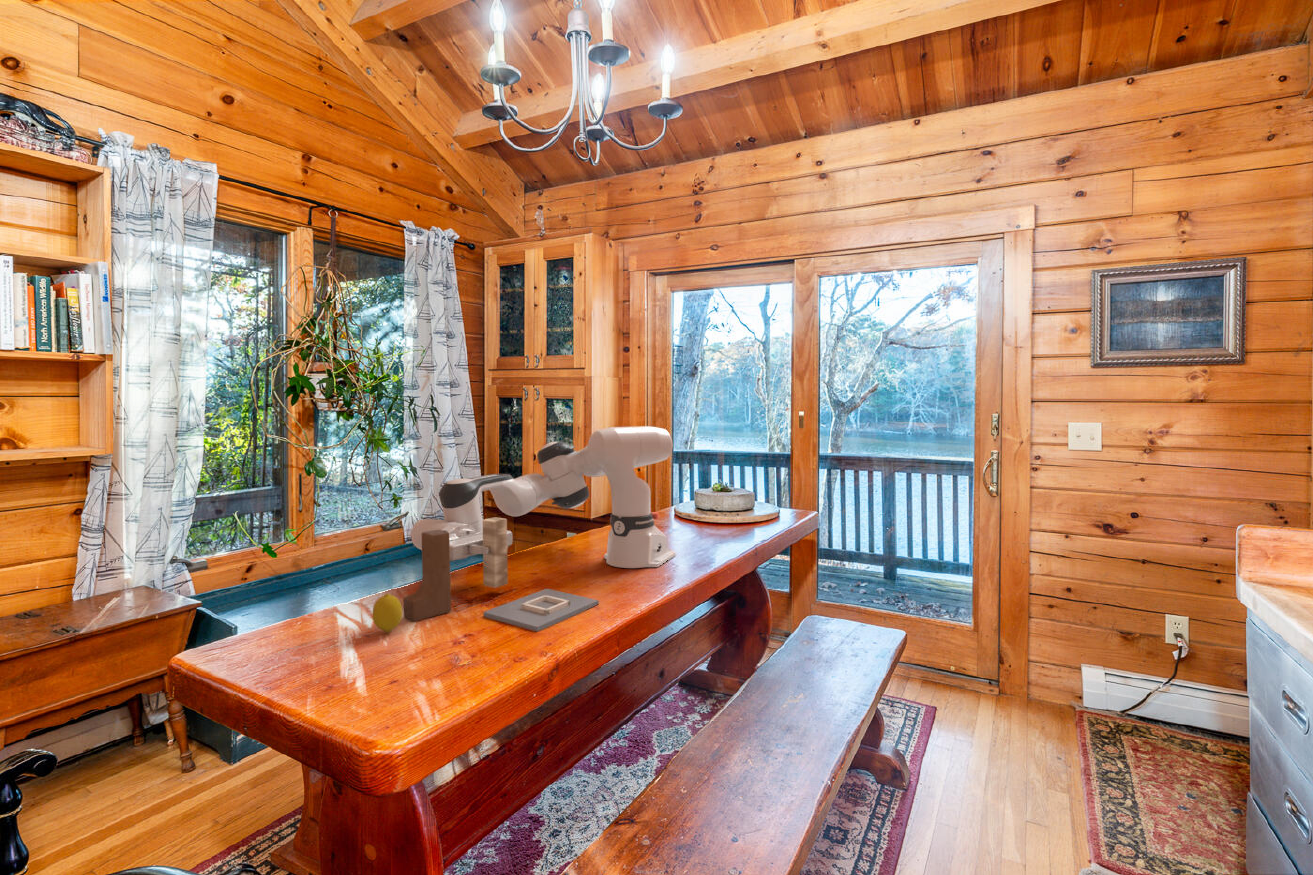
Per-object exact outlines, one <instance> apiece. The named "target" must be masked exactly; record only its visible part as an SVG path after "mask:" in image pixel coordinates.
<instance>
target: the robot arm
mask: <svg viewBox="0 0 1313 875" xmlns="http://www.w3.org/2000/svg"><path fill="white" fill-rule="evenodd" d="M673 444H674V443H673V439H672V437H671V435H670V433H669V432H668V430H667V429H665V428H662V427H658V426H657V427H656V426H651V425H650V426H649V425H643V426H641V425H639V426H612V427H611V426H609V427H605V428H601V429H598V430H595V431H594V432H593V433H592V434H591V435H590V436H589V439H588V443H587V445H586V446H585V447H583V448H581V449H580V450H578V451H577V450H576V449H574V448H576V446H575V445H570V444H569V442H564V441H551V442H548V443H547V444H545V445H543V446H542V447H541V449H540V450H539V451H538V452H537V454H536V456H537V460H538V461H537V462H538V464H539V465H540V467H541V470H542V473H543V474H541V473H537V472H536V473H535V472H534V473H528V474H523V475H520V476H518V477H516V478H514V477H513V476H512V474H510V473H509V474H508V473H493V474H486V475H481V476H480V475H479V476H475V477H469V478H468V477H467V478H455V479H450V480H448V481H446V482H445V483H444V484H443V485H442V487H441V488H440V490H439V492H438V498H439V501H440V503H441V508H442V513H443V519H444V520H443V519H436V518H435V519H434V518H425V519H419V520H417V521H416V522H415V523H414V524H413V526H412V529H411V531H410V533H411V534H410V538H411V541H412V545H413V546H414V547H416V548H417V549H419V550H421V551H422V533H423V532H428V531H433V530H442V531H446V532H449V543H450V562H454V561H457V560H465V559H467V558H468V557H469V558H470V557H472V556H476V555H483V554H485V555H487V554H490V553H491V547H490V546H487V545H486V546H483V520H484V519H483V515H482V514H483V513H482V509H481V503H480V494H481V492H486V491H490V494H491V496H492V498H493V499H494V503H495V505H496V506H497V508H498V509H499V510H500V511H501V512H502V513H503V514H505V515H507V516H510V517H513V518H514V517H520V516H523V515H526V514H528V513H530V512H532V511H533V510H535V509H536V508H537V507H539V506H541V505H542V504H543V503H544V502H546V501H547V500H552V502H551V505H552V506H553V505H554V506H555V505H556V506H557V507H559V508H562V509H566V510H568V509H576V508H578V507H580V506H582V505H584V503H585V502H586V501H587V500H588V499H589V497H590V491H589V486H588V485H587V484H586V481H585V478H584V476H585V477H589V478H590V477H591V478H598V477H604V476H606V478H607V480H608V483H609V486H610V492H611V493H610V494H611V513H610V517H609V521H610V522H609V523H610V524H609V526H610V527H611V528H610V530H608V534H607V535H608V536H607V548H606V553H604V556H603V557H604V559H605V560H606V561H605V562H606V564H607V565H609V566H611V567H616V568H622V569H623V568H624V569H640V568H658V567H661V566H662V565H664V564H665V563H666V561H667V560H668V561H670V560H672V559H673V558H674V557H676V555H677V554H676V551H674V550H672V549H669V547H668V538H667V536H666V534H665V533H663V532H662V531H661V529H659V528H658V527H657V526H656V525H655V520H657V521H658V519H659V518H660V513H659V512H654V511H651V492H652V491H651V488H650V485H649V483H648V482H646V481H645V480H644V479H642V478H640V477H638V476H637V474H636V471H635V468H636V469H637V468H640V467H645V466H649V465H654V464H657V463H661V462H664V461H667V460H668V459H669V457H670V456H671V454H672V451H673V447H674V446H673ZM513 541H514V540H513V532H512V531H511V530H507V550H508V549H509V547H511V545H512V544H513ZM668 561H667V562H668ZM663 563H664V564H663ZM660 565H661V566H660Z"/></svg>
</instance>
